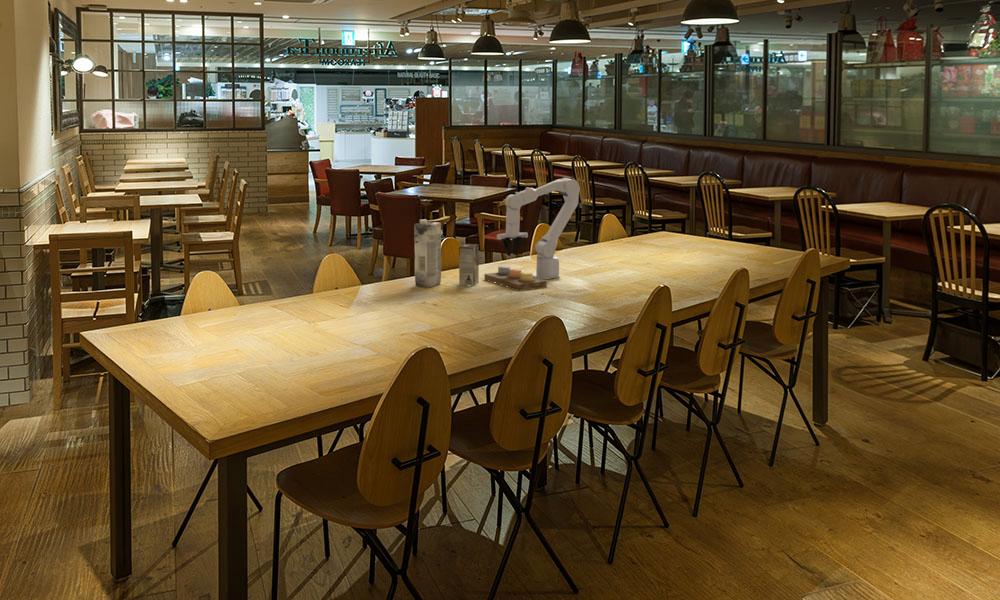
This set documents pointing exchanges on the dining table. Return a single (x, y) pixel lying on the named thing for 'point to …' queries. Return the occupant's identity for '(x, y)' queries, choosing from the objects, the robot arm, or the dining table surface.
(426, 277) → the juice carton
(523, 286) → the board
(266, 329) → the dining table surface
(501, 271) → the button blue
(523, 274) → the button ochre
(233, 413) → the dining table surface
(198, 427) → the dining table surface
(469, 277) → the coffee box
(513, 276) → the button terracotta
